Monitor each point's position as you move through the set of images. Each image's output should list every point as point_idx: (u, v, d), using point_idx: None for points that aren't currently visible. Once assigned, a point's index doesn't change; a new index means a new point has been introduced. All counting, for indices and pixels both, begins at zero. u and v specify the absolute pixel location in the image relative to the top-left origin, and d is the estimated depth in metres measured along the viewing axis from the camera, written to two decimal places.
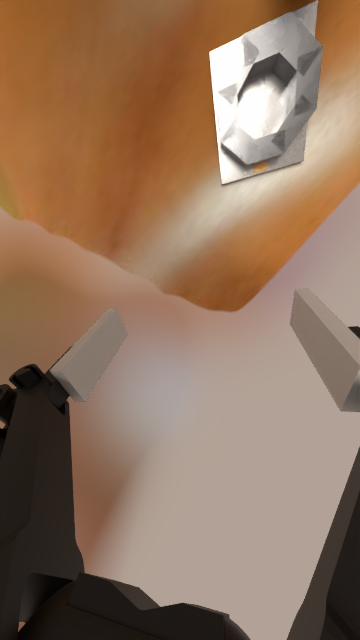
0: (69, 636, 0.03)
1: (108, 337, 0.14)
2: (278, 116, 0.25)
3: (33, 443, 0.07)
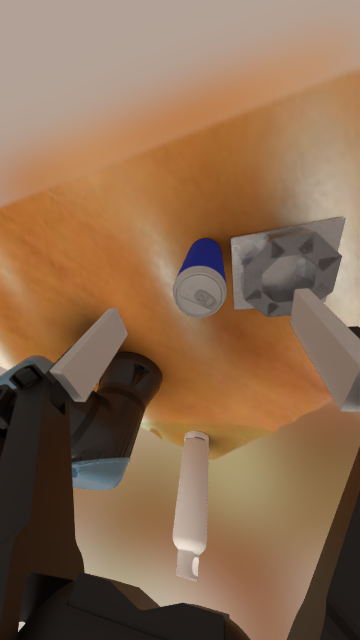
0: (69, 636, 0.03)
1: (108, 337, 0.14)
2: None
3: (32, 443, 0.07)
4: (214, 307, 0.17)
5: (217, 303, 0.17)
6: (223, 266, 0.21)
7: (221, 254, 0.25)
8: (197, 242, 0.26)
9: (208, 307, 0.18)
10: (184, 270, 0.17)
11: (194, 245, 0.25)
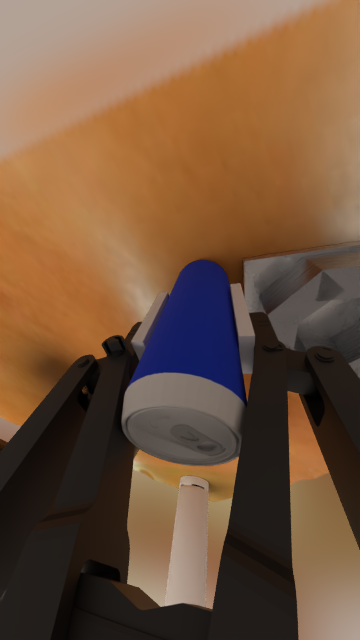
0: (69, 636, 0.03)
1: None
2: None
3: (109, 416, 0.07)
4: (218, 454, 0.07)
5: (226, 451, 0.07)
6: None
7: (229, 291, 0.15)
8: (189, 268, 0.16)
9: (204, 452, 0.08)
10: (144, 377, 0.07)
11: (184, 275, 0.15)
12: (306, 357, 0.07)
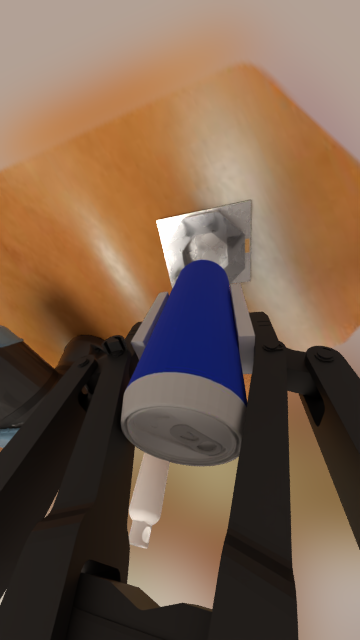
0: (69, 636, 0.03)
1: None
2: (211, 235, 0.29)
3: (109, 416, 0.07)
4: (218, 455, 0.07)
5: (226, 451, 0.07)
6: None
7: (229, 290, 0.15)
8: (189, 268, 0.16)
9: (204, 452, 0.07)
10: (143, 376, 0.07)
11: (184, 274, 0.15)
12: (306, 357, 0.07)
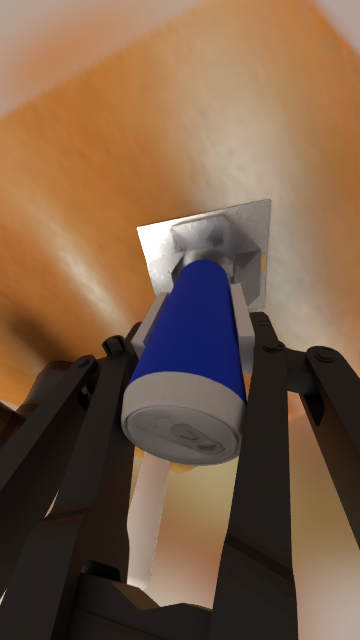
0: (69, 636, 0.03)
1: None
2: (213, 248, 0.21)
3: (109, 416, 0.07)
4: (218, 454, 0.07)
5: (226, 451, 0.07)
6: None
7: (229, 290, 0.15)
8: (189, 268, 0.16)
9: (204, 451, 0.07)
10: (143, 376, 0.07)
11: (184, 274, 0.15)
12: (306, 357, 0.07)
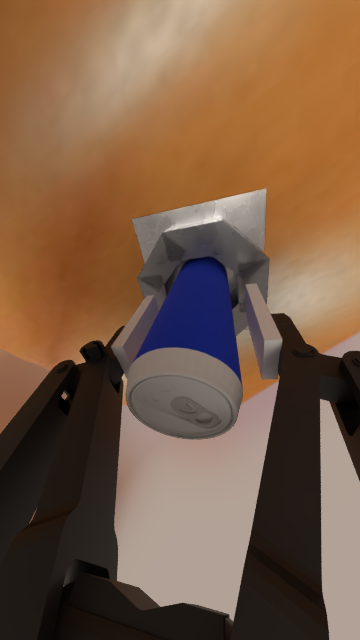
0: (69, 636, 0.03)
1: (150, 321, 0.14)
2: None
3: (90, 420, 0.07)
4: (215, 427, 0.08)
5: (221, 423, 0.08)
6: (232, 315, 0.12)
7: (227, 284, 0.15)
8: (190, 263, 0.17)
9: (202, 425, 0.08)
10: (147, 353, 0.07)
11: (184, 269, 0.16)
12: (342, 362, 0.07)
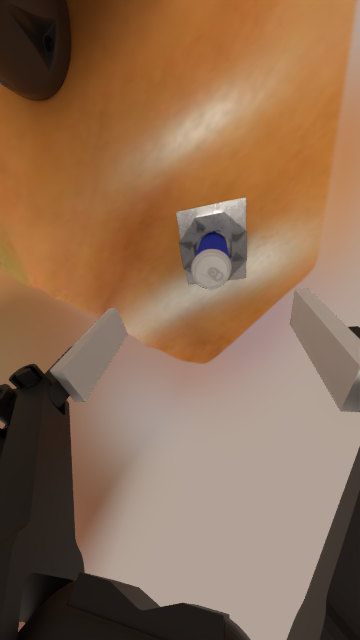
0: (69, 636, 0.03)
1: (108, 337, 0.14)
2: None
3: (32, 443, 0.07)
4: (222, 280, 0.24)
5: (224, 277, 0.23)
6: (228, 252, 0.27)
7: (226, 244, 0.31)
8: (207, 235, 0.32)
9: (217, 280, 0.24)
10: (200, 252, 0.23)
11: (205, 237, 0.31)
12: None
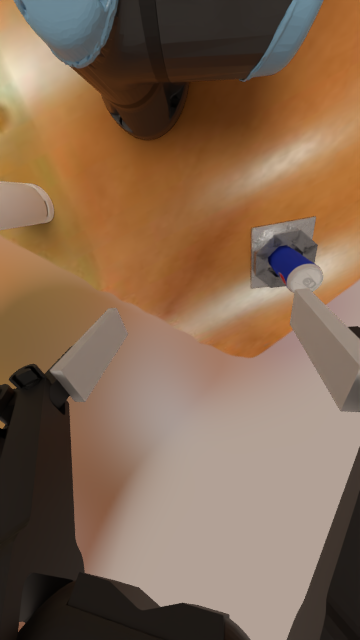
0: (69, 636, 0.03)
1: (108, 337, 0.14)
2: None
3: (33, 443, 0.07)
4: (313, 288, 0.30)
5: (316, 285, 0.30)
6: None
7: None
8: (280, 248, 0.38)
9: (309, 288, 0.30)
10: (298, 266, 0.29)
11: (280, 250, 0.38)
12: None
